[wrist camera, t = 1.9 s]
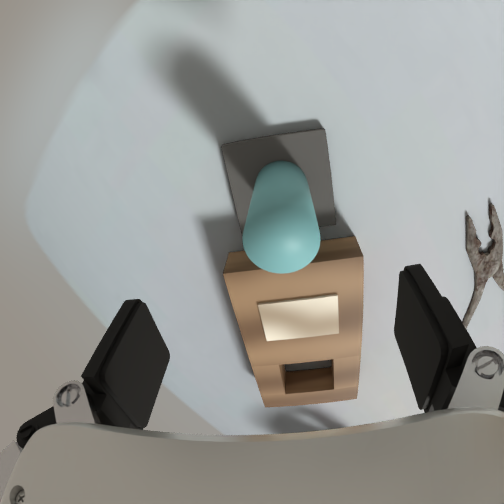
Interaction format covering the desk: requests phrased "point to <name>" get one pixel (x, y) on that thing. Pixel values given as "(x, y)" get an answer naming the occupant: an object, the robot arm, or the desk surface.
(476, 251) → the pliers
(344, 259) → the wooden peg hole block
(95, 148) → the desk surface
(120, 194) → the desk surface
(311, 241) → the peg
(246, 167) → the pad
